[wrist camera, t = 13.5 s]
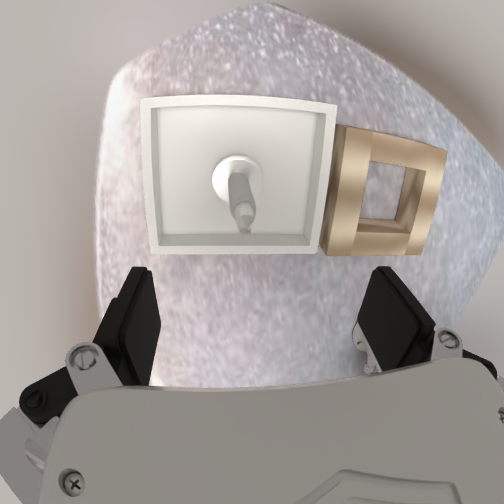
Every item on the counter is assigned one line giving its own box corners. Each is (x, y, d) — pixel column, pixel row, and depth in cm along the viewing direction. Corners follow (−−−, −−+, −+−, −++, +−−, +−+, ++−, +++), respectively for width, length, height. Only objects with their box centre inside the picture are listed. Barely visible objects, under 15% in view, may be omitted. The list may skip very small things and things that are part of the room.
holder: (405, 240, 35) (420, 255, 32) (315, 239, 34) (326, 256, 30) (427, 144, 28) (447, 151, 25) (331, 123, 27) (346, 127, 23)
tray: (308, 239, 33) (316, 253, 30) (157, 239, 31) (150, 254, 28) (324, 104, 26) (337, 105, 23) (149, 99, 24) (140, 98, 21)
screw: (229, 205, 30) (204, 168, 27) (268, 182, 29) (244, 143, 26) (234, 274, 18) (190, 216, 16) (299, 238, 17) (262, 173, 15)
